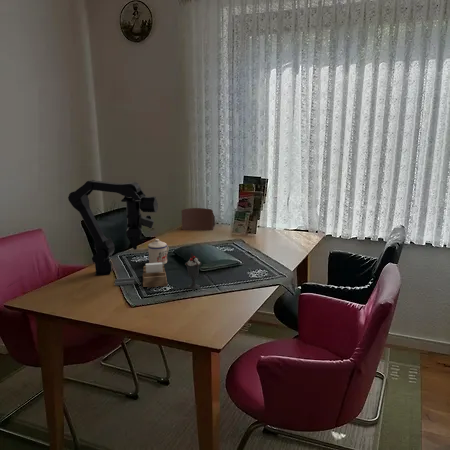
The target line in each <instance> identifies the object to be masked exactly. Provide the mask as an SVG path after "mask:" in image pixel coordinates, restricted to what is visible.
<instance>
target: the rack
mask: <svg viewBox="0 0 450 450" xmlns="http://www.w3.org/2000/svg"><path fill="white" fill-rule="evenodd" d="M142 268H143V273H142V288H143V287H148V288H157V287H156V286H160V287H168V285H169V284H168V280H167V273H166V270H165V269H166V267H165V264H163V272H156V273H146V265H144V266H143V267H142Z"/></svg>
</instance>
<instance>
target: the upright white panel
mask: <svg viewBox="0 0 450 450" xmlns="http://www.w3.org/2000/svg"><path fill="white" fill-rule="evenodd" d="M163 265H164V264H162V262H160V263H149V262H148V263H145V266H146V273H156V272H163Z"/></svg>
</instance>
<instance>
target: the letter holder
mask: <svg viewBox="0 0 450 450" xmlns="http://www.w3.org/2000/svg"><path fill="white" fill-rule="evenodd" d="M215 217H216V216H215V215H214V211H213V209H211V208H205V207H204V208H203V207H191V208H189V207H188V208H183V209H181V230H183V231H190V230H191V231H213V230H214V229H215V227H216V218H215Z"/></svg>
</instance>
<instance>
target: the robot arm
mask: <svg viewBox="0 0 450 450" xmlns="http://www.w3.org/2000/svg"><path fill="white" fill-rule="evenodd" d="M93 191H98V192H106V193H107V192H108V193H113V194H114V193H116V194H119V195H121V196H124V197H123V198H122V199H121V200H120V201H121V202H122V203H125V204H126V220H127V221H126V222H127V225H126V226H127V229H126V231H125V232H126V238H127V239H128V241H129V243H130V245H131V247H132V249H133V250H134V251H135V250H137V247H138V241H139V239H140V237H142V236H143V235H142V228H143V227H147V228H148V229H153V226H154V224H155V220H154V219H153V218H152V215H149V214H147V215H146V216H143V215H142V213H141V211H142V212H143V213H157V212H158V208H159V203H158V201H157V196H147V195H146V194H145V193H144V191H142V187H141V185H140V184H139V182H136V181H132V182H131V181H130V182H129V181H127V182H121V183H119V182H110V181H101V180H94V179H90V180H87V181H85V183H84V184H83V185H81V186H80V187H79V188H77V189H76V190H74V191H71V192H69V194H68V197H67V199H68V201H69V203H70V205H71V206H72V208H74V209H75V210H76V211H77V212H78V213H79V214H80V215H81V218H82V220H83V222H84V224H85V225H86V228H87V229H88V231H89V233H90V235H91V236H92V239H93V241H94V250H95V252H96V253H95V254H94V255H93V256H92V257H91V260H92V262H93V263H94V265H95V267H94V268H95V276H104V275H111V272H112V271H113V266H112V264H113V263H112V261H111V257H112V255H113V254H114V253H115V244H114V242H113V240H112V238H111V237H109V238H108V237H106V236H105V235H104V232H103V230H102V229H101V227H100V225H99V223H98V221H97V219H96V217H95V215H94V214H93V212H92V209H91V207H90V199H89V195H91V194H92V192H93ZM142 226H143V227H142Z"/></svg>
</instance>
